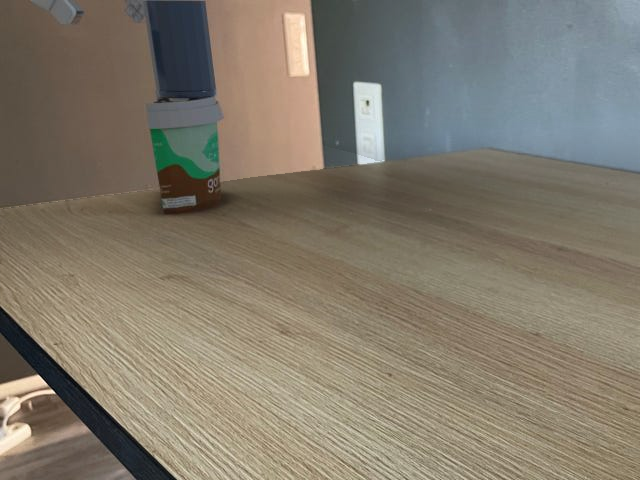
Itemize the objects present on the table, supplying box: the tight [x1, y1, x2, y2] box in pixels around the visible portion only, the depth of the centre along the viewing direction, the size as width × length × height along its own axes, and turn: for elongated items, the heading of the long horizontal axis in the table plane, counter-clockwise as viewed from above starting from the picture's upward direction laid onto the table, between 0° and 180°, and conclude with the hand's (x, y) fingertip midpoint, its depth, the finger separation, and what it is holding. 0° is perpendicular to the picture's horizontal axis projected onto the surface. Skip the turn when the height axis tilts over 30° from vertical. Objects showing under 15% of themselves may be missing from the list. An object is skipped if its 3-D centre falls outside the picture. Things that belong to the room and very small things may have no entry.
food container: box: [145, 89, 225, 216], centre depth 75 cm, size 12×6×10 cm, turn 16°
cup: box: [143, 0, 218, 98], centre depth 72 cm, size 5×5×8 cm
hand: (113, 18), depth 72 cm, fingers open, 8 cm apart
